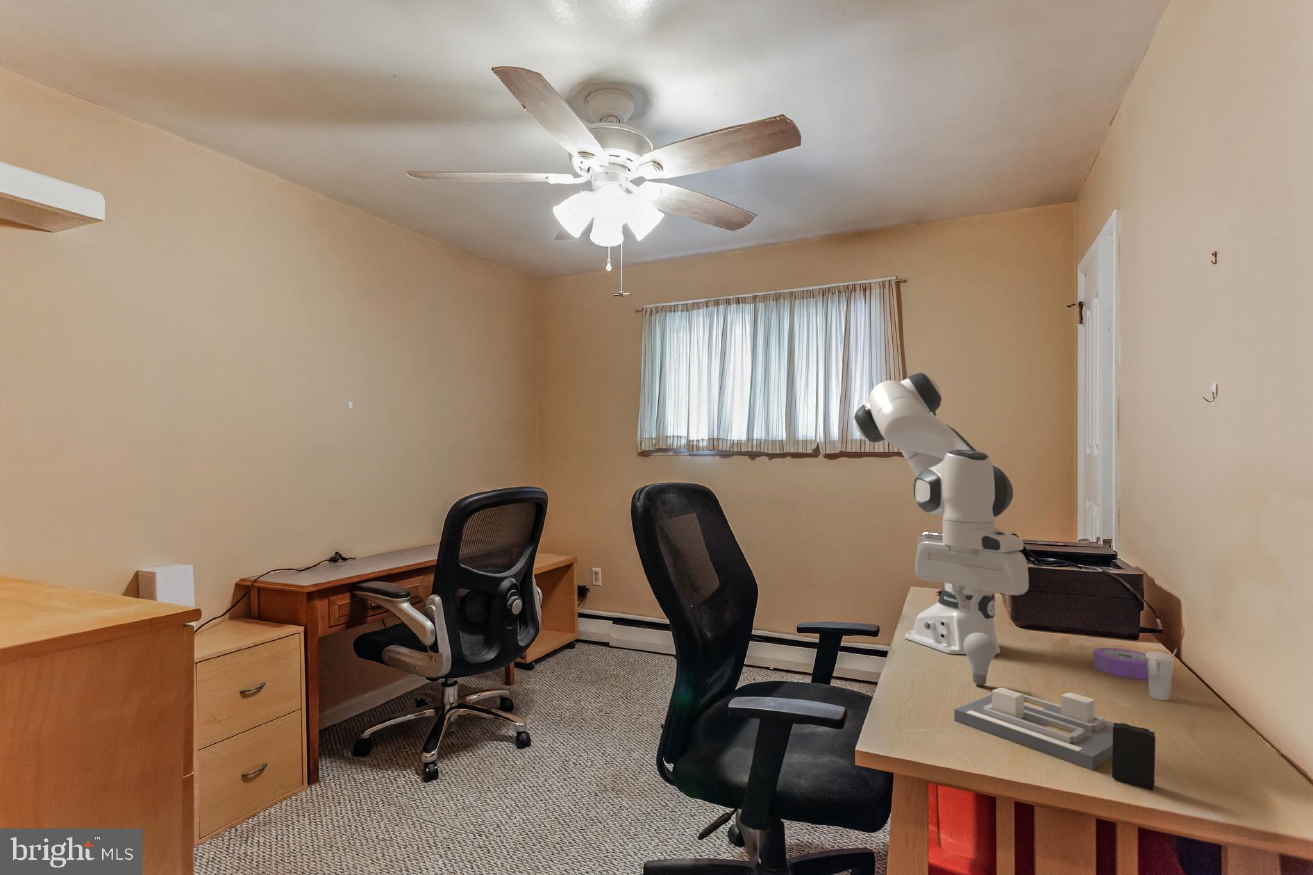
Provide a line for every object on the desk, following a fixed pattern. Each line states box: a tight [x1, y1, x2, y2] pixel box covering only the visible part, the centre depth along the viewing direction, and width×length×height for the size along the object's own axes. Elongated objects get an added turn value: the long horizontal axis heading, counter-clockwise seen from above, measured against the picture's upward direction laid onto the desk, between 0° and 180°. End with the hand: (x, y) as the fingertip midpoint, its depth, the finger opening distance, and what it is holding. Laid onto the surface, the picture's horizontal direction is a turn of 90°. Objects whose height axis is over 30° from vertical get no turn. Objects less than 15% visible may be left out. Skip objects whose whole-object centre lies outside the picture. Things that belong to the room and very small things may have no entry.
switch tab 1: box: [991, 687, 1025, 719], centre depth 113 cm, size 4×3×4 cm
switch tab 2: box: [1060, 692, 1096, 723], centre depth 111 cm, size 4×3×4 cm
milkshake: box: [1145, 648, 1178, 701], centre depth 129 cm, size 4×5×10 cm
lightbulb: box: [963, 633, 996, 687], centre depth 134 cm, size 6×6×11 cm
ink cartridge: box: [1111, 722, 1157, 791], centre depth 94 cm, size 5×2×8 cm, turn 50°
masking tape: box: [1093, 647, 1148, 680], centre depth 146 cm, size 12×12×4 cm
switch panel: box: [953, 694, 1114, 771], centre depth 112 cm, size 22×18×3 cm
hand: (968, 610), depth 119 cm, fingers closed
